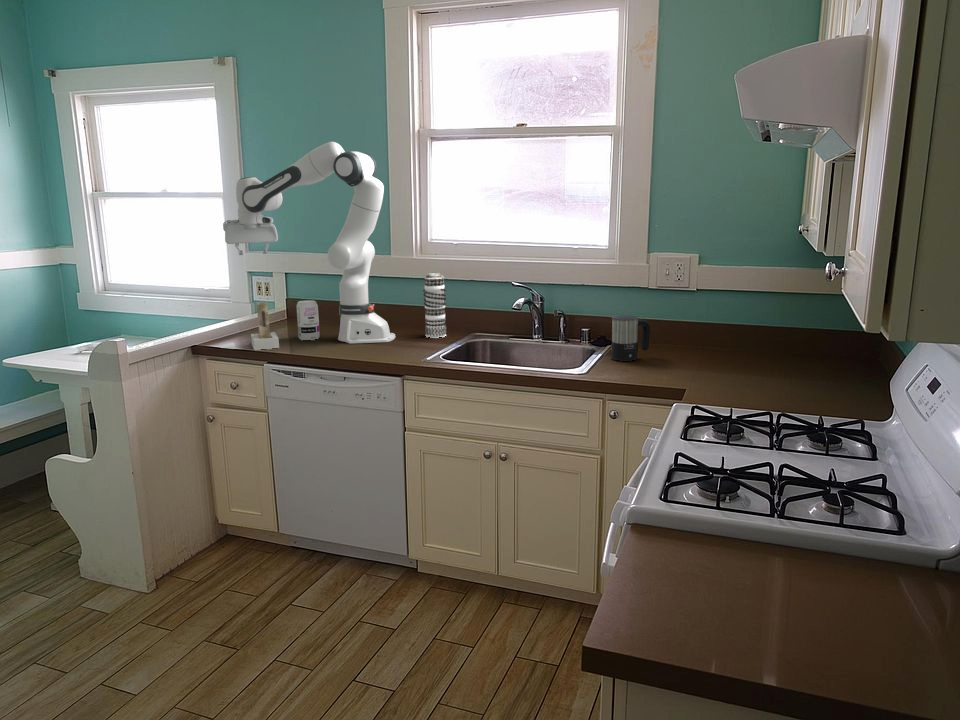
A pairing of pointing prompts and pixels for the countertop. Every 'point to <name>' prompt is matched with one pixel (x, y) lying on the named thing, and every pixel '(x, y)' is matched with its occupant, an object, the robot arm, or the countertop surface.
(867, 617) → the countertop surface
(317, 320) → the supplement can
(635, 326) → the milk frother
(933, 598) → the countertop surface
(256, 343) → the white rectangular tray
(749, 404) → the countertop surface
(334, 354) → the countertop surface
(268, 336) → the beige wooden block
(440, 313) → the decorative candle
